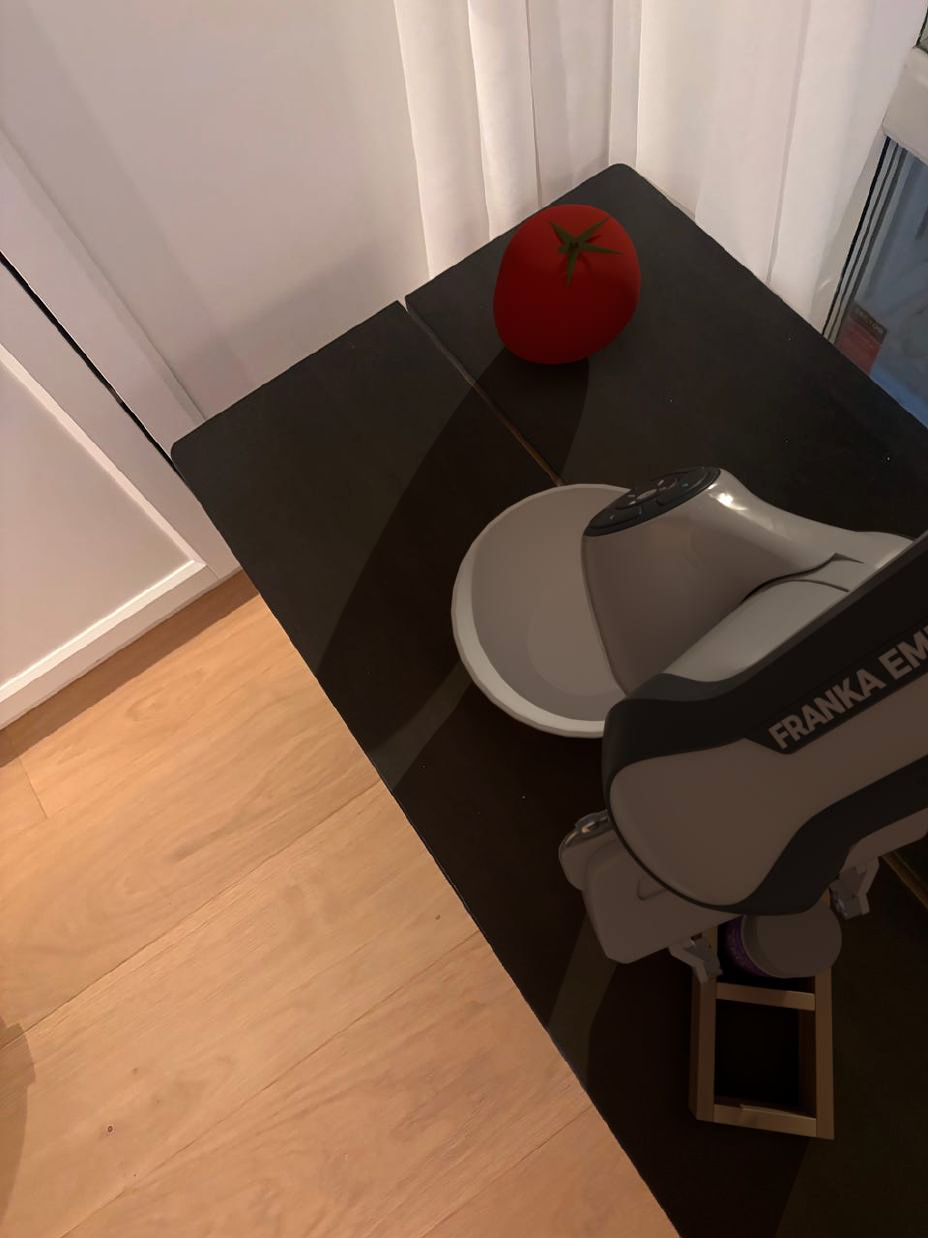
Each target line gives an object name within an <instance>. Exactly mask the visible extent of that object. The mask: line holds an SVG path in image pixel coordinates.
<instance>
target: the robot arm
mask: <svg viewBox="0 0 928 1238" xmlns="http://www.w3.org/2000/svg"><path fill="white" fill-rule="evenodd" d="M580 557H581V569H582V577H583V583H584V588H585V593H586V597H587V601H588V606H589V610H590V614H591V617H592V621H593V625H594V628H595V631H596V635H597V638H598V641H599V644H600V647H601V650H602V653H603V656H604V659H605V662H606V665H607V668H608V671H609V673H610V675H611V677H612V679H613V681H614V682H615V683H616V685H617V686H618V687H619V689H620V690H621V691H622V693H623V694H624V696H625V697H624V698H623V699H622V700H620V701H619V702H618V703H616V704H615V705H614V706H613V707H612V708H611V709H610V710H609V712H608V713H607V716H606V718H605V723H604V730H603V737H602V739H601V740H602V741H601V781H602V791H603V797H604V803H605V809H604V810H601V811H599V812H592V813H590V814H587V815H585V816H583V817H581V818H579V819H578V820H577V821H575V822H574V826H575V828H574V829H572V830H570V831H569V832H568V833H567V834H566V835H565V836H564V838H563V839H562V840H561V843H560V845H558V861H559V863H560V865H561V868H562V870H563V874H564V876H565V878H566V880H567V881H568V883H569V884H570V885H571V886H573V887H574V888H576V889H578V890H580V891H581V896H582V899H583V903H584V906H585V909H586V912H587V916H588V919H589V921H590V923H591V925H592V928H593V931H594V933H595V935H596V938H597V941H598V942H599V945H600V947H601V949H602V951H603V953H604V955H605V956H606V958H608V959H611V960H612V961H615V962H616V963H617V962H618V963H620V964H623V965H624V964H625V965H627V964H631V963H634V962H636V961H638V960H640V959H643V958H644V957H648V956H650V955H652V954H654V953H657V952H659V951H661V950H663V949H666V948H667V949H668V951H669V954H670V955H671V956H673V957H674V958H676V959H678V960H680V961H681V962H683V963H685V964H686V965H688V966H690V967H691V969H692V972H693V971H694V973H695V975H696V977H697V978H698V980H699V982H700V983H701V984H703V983H705V982H708V981H709V980H712V979H714V978H716V977H717V978H719V977H721V976H723V975H724V971H723V969H722V967H721V962H720V959H719V956H718V954H717V955H716V953H715V951H714V950H713V949H712V948H711V946H710V943H709V942H708V940H707V938H706V937H703V938H700V939H698V940H695V941H694V940H692V937H694V935H696V934H699V933H701V932H704V931H706V930H708V929H711V928H713V927H715V926H720V925H721V924H722V923H725V922H727V921H729V920H732V919H734V918H736V917H739V916H741V915H752V916H782V915H795V914H800V913H803V912H806V911H808V910H809V909H811V908H812V907H813V906H814V905H815V904H816V903H817V902H818V900H819V899H820V898H821V896H822V895H823V894H824V892H825V891H826V890H827V888H828V890H829V893H830V902H831V904H832V905H833V907H834V909H835V910H836V911H837V912H838V913H839V914H841V917H842V918H843V920H844V921H845V922H849V921H852V920H854V919H857V918H859V917H861V916H864V915H866V914H868V913H870V906H869V900H868V897H867V893H868V892H869V890H870V888H871V886H872V884H873V881H874V879H875V877H876V875H877V873H878V870H879V868H880V863H879V857H881V856H883V855H886V854H888V853H891V852H892V851H895V850H898V849H900V848H901V847H904V846H907V845H909V844H911V843H915V842H916V841H919V840H921V839H923V838H924V837H925V836H927V834H928V529H927V530H925V531H924V532H923V533H922V534H921V535H920V536H919V537H917V538H914V537H912V536H908V535H906V534H903V533H902V534H901V533H898V532H894V531H889V530H882V529H856V530H854V529H853V530H850V529H845V528H842V527H838V526H834V525H829V524H827V523H822V522H820V521H816V520H812V519H809V518H806V517H804V516H800V515H797V514H794V513H792V512H790V511H789V512H788V511H786V510H784V509H781V508H778V507H777V506H774V505H772V504H770V503H769V502H766V501H764V500H763V499H761V498H760V497H758V496H757V495H755V494H753V492H751V491H750V490H749V489H748V488H747V487H746V486H745V485H744V484H742V483H741V481H740V480H739V479H737V478H736V477H735V476H734V475H733V474H732V473H730V472H729V471H728V470H725V469H723V468H720V467H715V466H692V467H686V468H680V469H677V470H673V471H671V472H666V473H665V474H662V475H659V476H657V477H654V478H652V479H651V480H650V481H647V482H645V483H643V484H641V485H639V486H635V487H634V488H632V489H630V491H629V492H627V493H625V494H624V495H622V496H621V497H619V498H618V499H616V500H615V501H613V502H612V503H611V504H609V505H608V506H607V507H605V508H604V509H603V510H602V511H600V512H599V513H598V514H597V515H595V516H594V517H593V518H592V519H591V520H590V522H589V524H588V526H587V527H586V528H585V530H584V532H583V534H582V538H581V548H580ZM838 875H839V877H838ZM837 877H838V879H836V878H837ZM717 978H716V979H717Z"/></svg>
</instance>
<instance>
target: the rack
mask: <svg viewBox="0 0 928 1238" xmlns="http://www.w3.org/2000/svg"><path fill="white" fill-rule="evenodd" d="M820 899H821V900H822V901H823V902H825V903H826V904H827V905H828V906H829V907H830V908H831V894H830V893H829V890H828V888H827V890H826V891H825V892H824V894H823V895H822V896H821V898H820ZM718 926H719V925H718ZM718 926H715V927H713V928H711V929H708V930H706V931H704V932H701V933H699V934H696V935H694V936H693V941H695V940H698V939H700V938H703V937H706V938H707V940H708V942H709V943H710V946H711V948H712V949H713V950H714V951H715V953H716V955H717V956H718V935H719V927H718ZM717 978H718V977H716V978H714V979H712V980H709V981H708V982H705V983H703V984H701V983H700V982H699V980H698V978H697V977H696V975H695V973H694V971H693V970H692V979H691V983H692V985H691V1007H690V1009H691V1010H690V1011H691V1013H690V1043H689V1044H690V1045H689V1076H688V1077H689V1078H688V1109H689V1110H690V1112H691V1113H692V1114H693V1116H694V1118H695V1119H696V1120H697V1121H704V1122H710V1123H716V1124H723V1125H731V1126H737V1127H743V1128H750V1129H756V1130H757V1129H758V1130H762V1131H770V1132H776V1133H784V1134H790V1135H797V1136H803V1137H810V1138H817V1139H823V1140H829V1141H830V1140H831V1141H834V1140H835V1121H834V1119H835V1118H834V1117H835V1116H834V1115H835V1113H834V1061H833V1059H834V1058H833V1056H834V1055H833V1053H834V1052H833V1006H832V1005H833V1004H832V1003H833V1002H832V966H831V967H830V968H828V969H827V970H826V971H824V972H822V973H820V974H818V975H815V976H810V977H797V981H798V982H797V983H798V984H797V985H798V986H797V987H798V989H797V990H798V991H794V990H787V989H781V988H780V989H779V988H771V987H764V986H763V987H762V986H756V985H748V984H739V983H733V982H732V983H731V982H723V981H717ZM717 999H719V1000H725V1001H732V1002H740V1003H748V1004H756V1005H763V1006H764V1005H765V1006H772V1007H778V1008H779V1007H780V1008H785V1009H787V1008H788V1009H794V1010H798V1012H797V1013H798V1106H795V1105H789V1104H781V1103H774V1102H767V1101H760V1100H754V1099H748V1098H747V1099H746V1098H741V1097H733V1096H726V1095H719V1094H715V1064H716V1063H715V1062H716V1061H715V1060H716V1059H715V1058H716V1022H717V1021H716V1020H717V1019H716V1018H717V1017H716V1015H717V1014H716V1013H717Z"/></svg>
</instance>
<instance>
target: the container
mask: <svg viewBox="0 0 928 1238" xmlns="http://www.w3.org/2000/svg"><path fill="white" fill-rule="evenodd" d="M842 942H843V935H842V930H841V925H840V923H839V920H838V917H837V916H836V914H835V912H834V911H833V910H832V909H831V906H830V907H829V906H828V905H827V904H826V903H825V902H823V901H822V900H821V899H819V900H818V902H817V903H816V904H815V905H814V906H813V907H812V908H811V909H809V910H808V911H806V912H803V913H800V914H795V915H782V916H752V915H741V916H739V917H736V918H734V919H732V920H729V921H727V922H725V923H722V924H720V925H719V927H718V945H719V948H720V951H721V954H722V955H723V957H724V958H725V960H726V962H727V963H728V964H729V965H730V966H731V967H732V968H734V969H735V970H737V971H738V972H741V973H742V974H745V975H750V976H753V977H766V978H778V979H794V978H795V979H796V978H798V977H810V976H815V975H818V974H820V973H822V972H824V971H826V970H827V969H828V968H830V967H831V968H832V966H833V965H834V963H835V962H836V960H837V959H838V957H839V955H840V953H841V949H842Z"/></svg>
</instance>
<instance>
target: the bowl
mask: <svg viewBox="0 0 928 1238" xmlns="http://www.w3.org/2000/svg"><path fill="white" fill-rule="evenodd" d="M630 490H631V489H630V488H626V487H620V486H615V485H610V484H606V483H605V484H604V483H576V484H575V483H574V484H568V485H564V486H563V485H562V486H556V487H552V488H549V489H546V490H543V491H540V492H537V493H535V494H531V495H529V496H527V497H525V498H523V499H521V500H520V501H518V502H516V503H514V504H513V505H510V506H509V507H507V508H506V509H505V510H503V511H502V512H501V513H499V515H497V516H496V517H494V519H493V520H491V521H490V522H489V523H488V524H487V525H486V526H485V527H484V529H483V530H482V531H481V532H480V533H479V534H478V536H477V537H476V538H475V539H474V540H473V542H472V543H471V545H470V547H469V548H468V550H467V552H466V553H465V555H464V557H463V559H462V561H461V563H460V564H459V569H458V572H457V574H456V578H455V581H454V584H453V588H452V596H451V597H452V598H451V608H450V618H451V626H452V636H453V639H454V643H455V646H456V648H457V652H458V655H459V657H460V660H461V662H462V664H463V666H464V667H465V669H466V671H467V673H468V675H469V676H470V678H471V680H472V681H473V683H474V684H475V685H476V687H478V689H479V690H480V691H481V692H482V693H483V694H484V695H485V696H486V697H487V699H488V700H489V702H491V704H493V705H495V706H496V707H498V709H500V710H502V711H503V712H505V713H506V714H507V715H508V716H510V717H511V718H513V719H515V721H519V722H520V723H523V724H525V725H527V726H529V727H531V728H534V729H536V730H538V731H541V732H545V733H549V734H553V735H557V736H560V737H565V738H578V739H601V738H603V730H604V723H605V718H606V716H607V713H608V712H609V710H610V709H611V708H612V707H613V706H614V705H615V704H616V703H618V702H619V701H620V700H622V699H623V698H624V697H625V696H624V694H623V693H622V691H621V690H620V689H619V687H618V686H617V685H616V683H615V682H614V681H613V679H612V677H611V675H610V673H609V671H608V668H607V665H606V662H605V659H604V656H603V653H602V650H601V647H600V644H599V641H598V638H597V635H596V631H595V628H594V625H593V621H592V617H591V614H590V610H589V606H588V601H587V597H586V593H585V588H584V583H583V577H582V569H581V557H580V548H581V538H582V534H583V532H584V530H585V528H586V527H587V526H588V524H589V522H590V520H591V519H592V518H593V517H594V516H595V515H597V514H598V513H599V512H600V511H602V510H603V509H604V508H605V507H607V506H608V505H609V504H611V503H612V502H613V501H615V500H616V499H618V498H619V497H621V496H622V495H624V494H625V493H627V492H629V491H630Z"/></svg>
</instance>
